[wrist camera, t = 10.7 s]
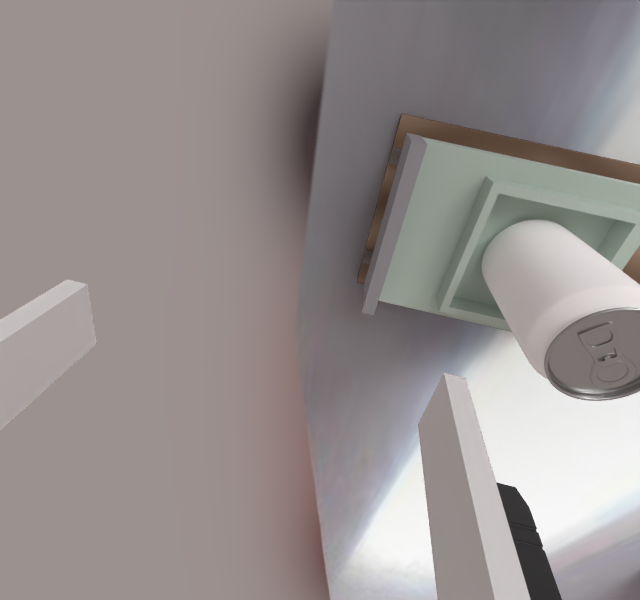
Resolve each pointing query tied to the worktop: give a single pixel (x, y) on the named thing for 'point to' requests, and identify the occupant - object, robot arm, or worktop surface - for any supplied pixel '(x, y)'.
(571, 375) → the can
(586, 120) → the worktop surface
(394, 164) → the track
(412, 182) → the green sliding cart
